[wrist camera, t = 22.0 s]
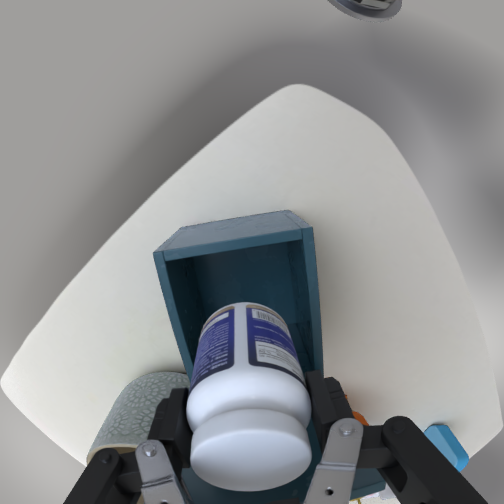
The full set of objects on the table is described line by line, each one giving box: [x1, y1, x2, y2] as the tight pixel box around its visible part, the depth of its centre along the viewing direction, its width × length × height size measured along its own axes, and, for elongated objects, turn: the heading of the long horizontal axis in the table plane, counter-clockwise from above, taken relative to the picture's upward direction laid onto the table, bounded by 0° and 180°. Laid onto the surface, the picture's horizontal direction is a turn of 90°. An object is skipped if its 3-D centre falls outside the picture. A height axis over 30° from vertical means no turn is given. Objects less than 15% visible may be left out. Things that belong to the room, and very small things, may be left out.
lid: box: [144, 417, 386, 504], centre depth 17 cm, size 14×12×5 cm
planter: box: [87, 372, 190, 504], centre depth 30 cm, size 17×17×15 cm
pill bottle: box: [186, 302, 312, 491], centre depth 14 cm, size 6×6×10 cm
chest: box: [153, 210, 324, 384], centre depth 28 cm, size 14×12×11 cm
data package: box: [424, 425, 469, 472], centre depth 38 cm, size 12×4×12 cm, turn 159°
